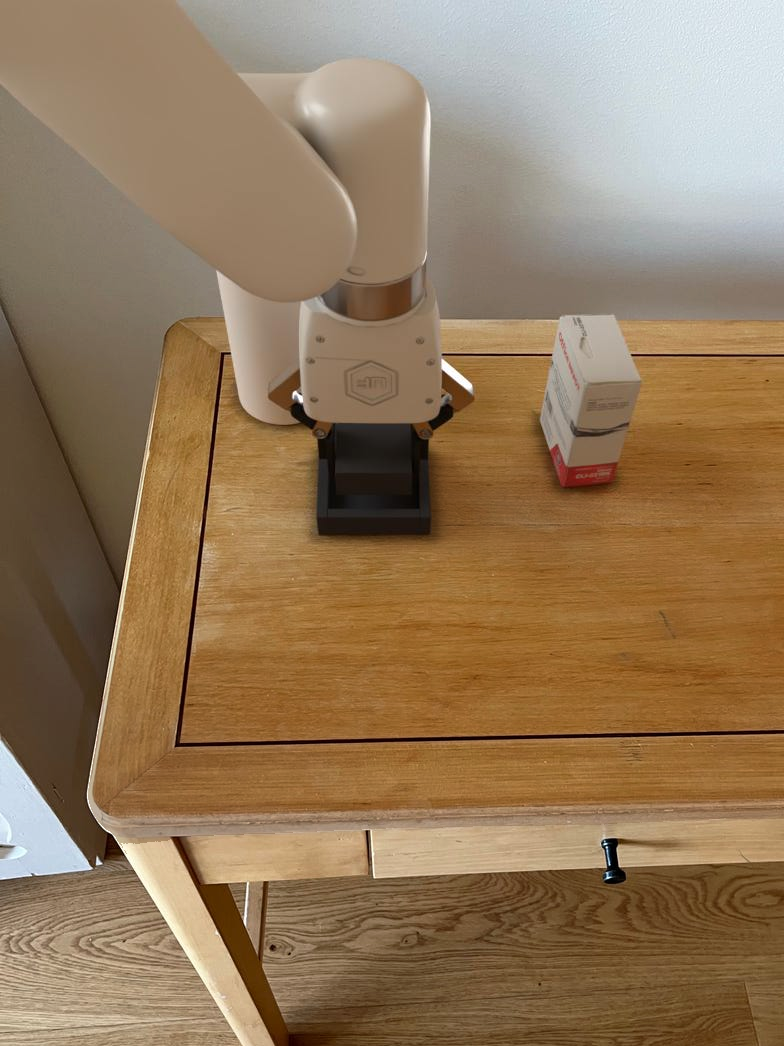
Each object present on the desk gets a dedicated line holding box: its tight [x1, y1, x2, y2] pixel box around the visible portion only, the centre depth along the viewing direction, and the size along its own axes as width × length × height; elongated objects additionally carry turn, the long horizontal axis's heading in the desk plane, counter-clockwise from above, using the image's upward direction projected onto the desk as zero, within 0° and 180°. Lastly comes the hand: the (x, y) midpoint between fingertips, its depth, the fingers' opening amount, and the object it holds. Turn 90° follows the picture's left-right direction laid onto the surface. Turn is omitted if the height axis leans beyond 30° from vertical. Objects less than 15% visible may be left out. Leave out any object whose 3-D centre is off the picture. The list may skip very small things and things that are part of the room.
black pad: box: [335, 423, 412, 495], centre depth 78 cm, size 6×6×3 cm
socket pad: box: [315, 455, 432, 536], centre depth 81 cm, size 9×9×2 cm
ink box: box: [539, 313, 643, 488], centre depth 81 cm, size 8×5×12 cm, turn 12°
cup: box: [215, 269, 315, 426], centre depth 81 cm, size 8×8×16 cm
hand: (374, 460), depth 78 cm, fingers closed on black pad, 6 cm apart
